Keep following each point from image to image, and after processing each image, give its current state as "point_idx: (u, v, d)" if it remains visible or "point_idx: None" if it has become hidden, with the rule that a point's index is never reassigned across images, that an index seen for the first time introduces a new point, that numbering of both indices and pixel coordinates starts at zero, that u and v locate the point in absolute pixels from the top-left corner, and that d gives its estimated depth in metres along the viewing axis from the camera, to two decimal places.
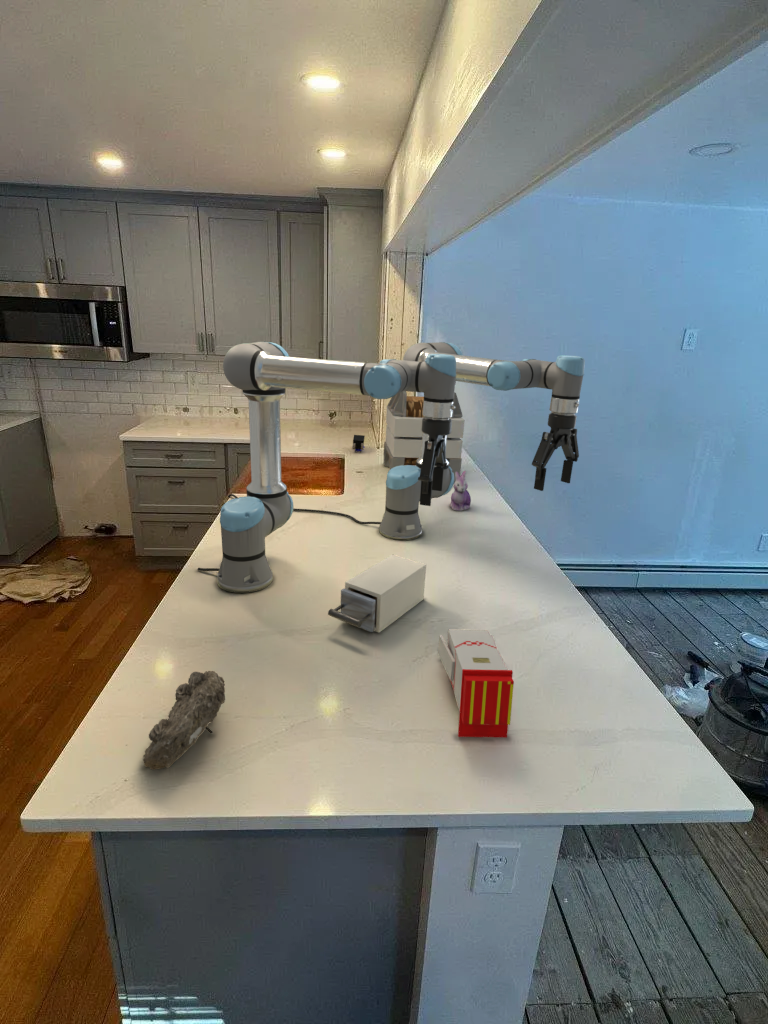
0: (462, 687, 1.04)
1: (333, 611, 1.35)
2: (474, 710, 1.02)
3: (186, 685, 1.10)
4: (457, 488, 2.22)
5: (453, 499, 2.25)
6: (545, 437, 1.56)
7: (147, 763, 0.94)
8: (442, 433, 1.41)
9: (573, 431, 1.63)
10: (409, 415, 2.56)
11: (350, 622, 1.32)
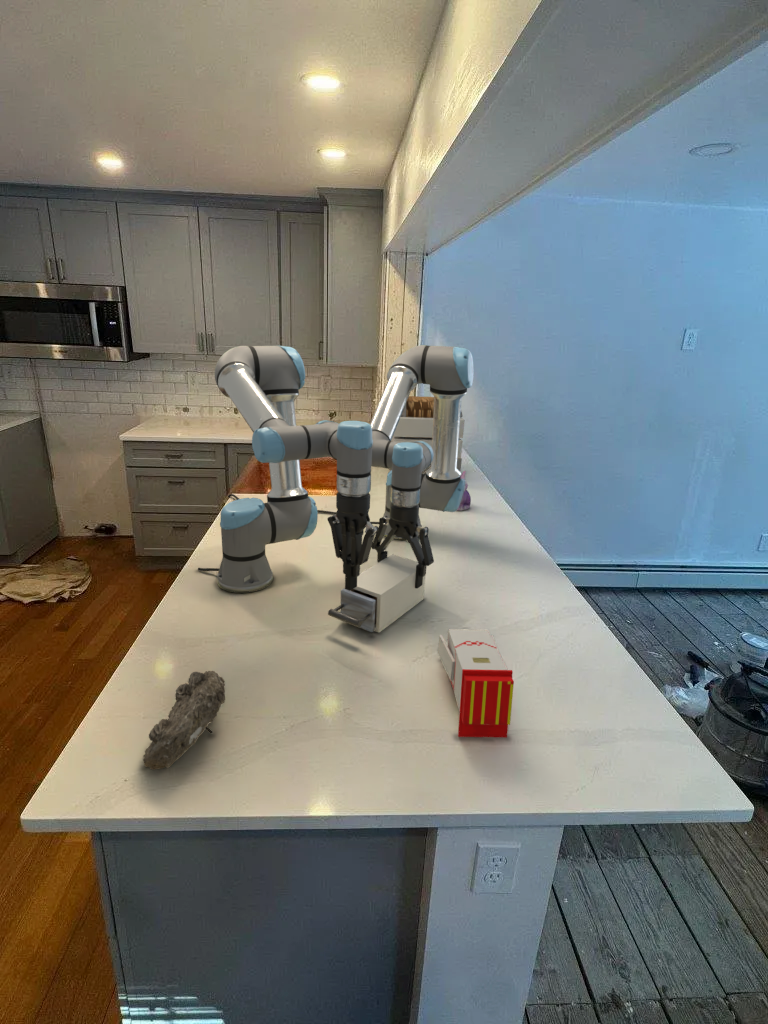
0: (462, 687, 1.04)
1: (333, 611, 1.35)
2: (474, 710, 1.02)
3: (186, 685, 1.10)
4: None
5: None
6: None
7: (147, 763, 0.94)
8: (336, 505, 1.26)
9: None
10: (409, 415, 2.56)
11: (350, 622, 1.32)
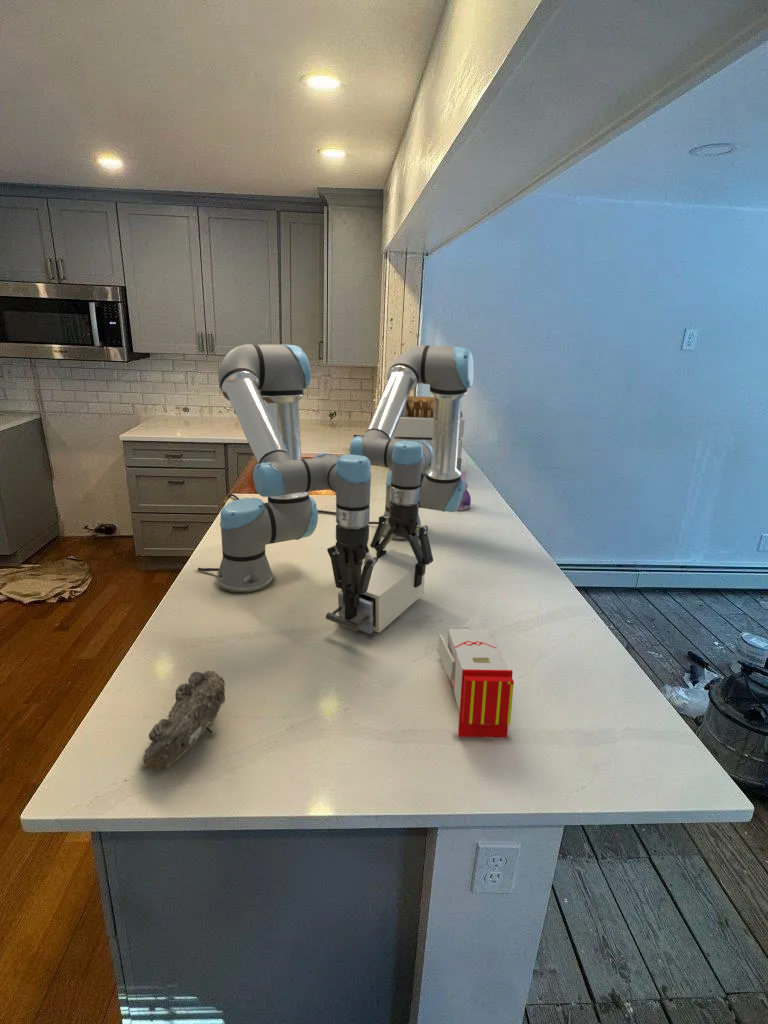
0: (462, 687, 1.04)
1: (331, 615, 1.35)
2: (474, 710, 1.02)
3: (186, 685, 1.10)
4: None
5: None
6: None
7: (147, 763, 0.94)
8: None
9: None
10: (409, 415, 2.56)
11: (348, 626, 1.32)
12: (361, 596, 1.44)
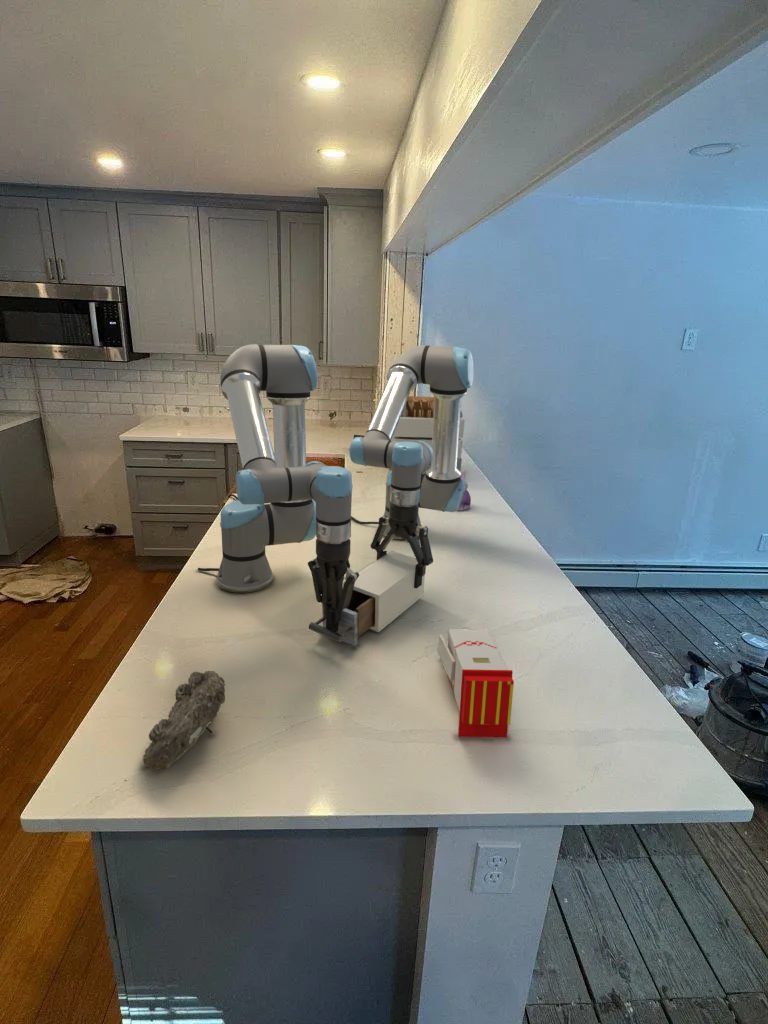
0: (462, 687, 1.04)
1: (314, 625, 1.30)
2: (474, 710, 1.02)
3: (186, 685, 1.10)
4: None
5: None
6: None
7: (147, 763, 0.94)
8: None
9: None
10: (409, 415, 2.56)
11: (331, 637, 1.27)
12: None
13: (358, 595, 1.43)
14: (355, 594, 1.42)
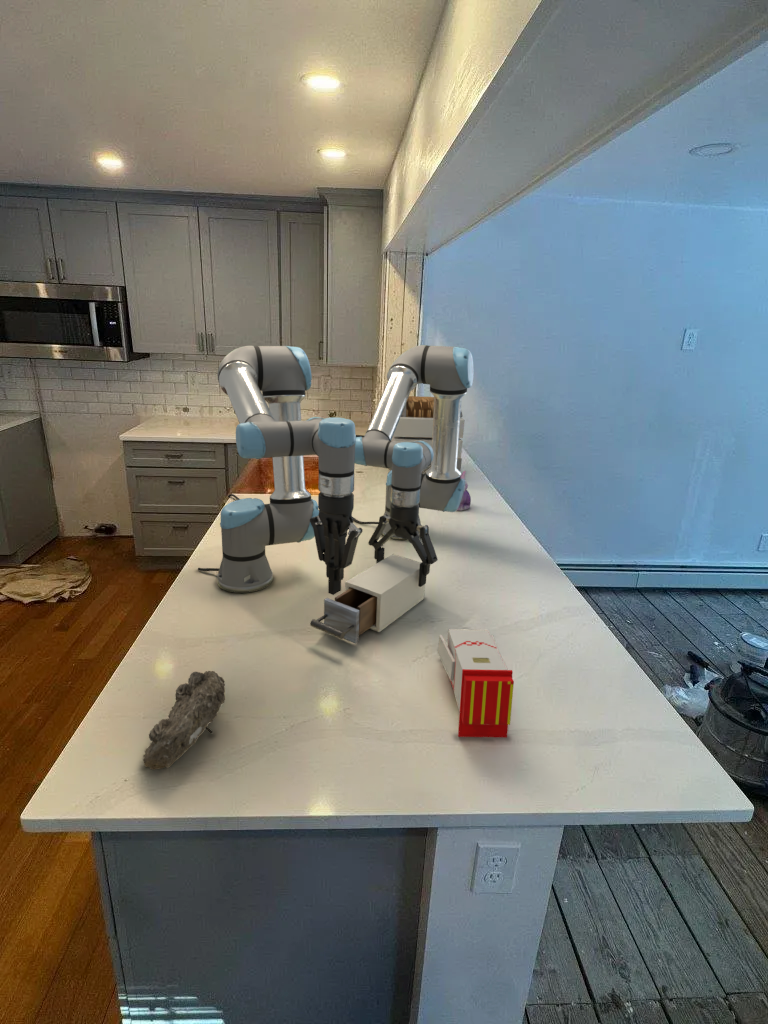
0: (462, 687, 1.04)
1: (315, 622, 1.30)
2: (474, 710, 1.02)
3: (186, 685, 1.10)
4: None
5: None
6: None
7: (147, 763, 0.94)
8: (318, 506, 1.21)
9: None
10: (409, 415, 2.56)
11: (332, 633, 1.27)
12: (348, 605, 1.40)
13: (359, 595, 1.43)
14: (357, 594, 1.42)
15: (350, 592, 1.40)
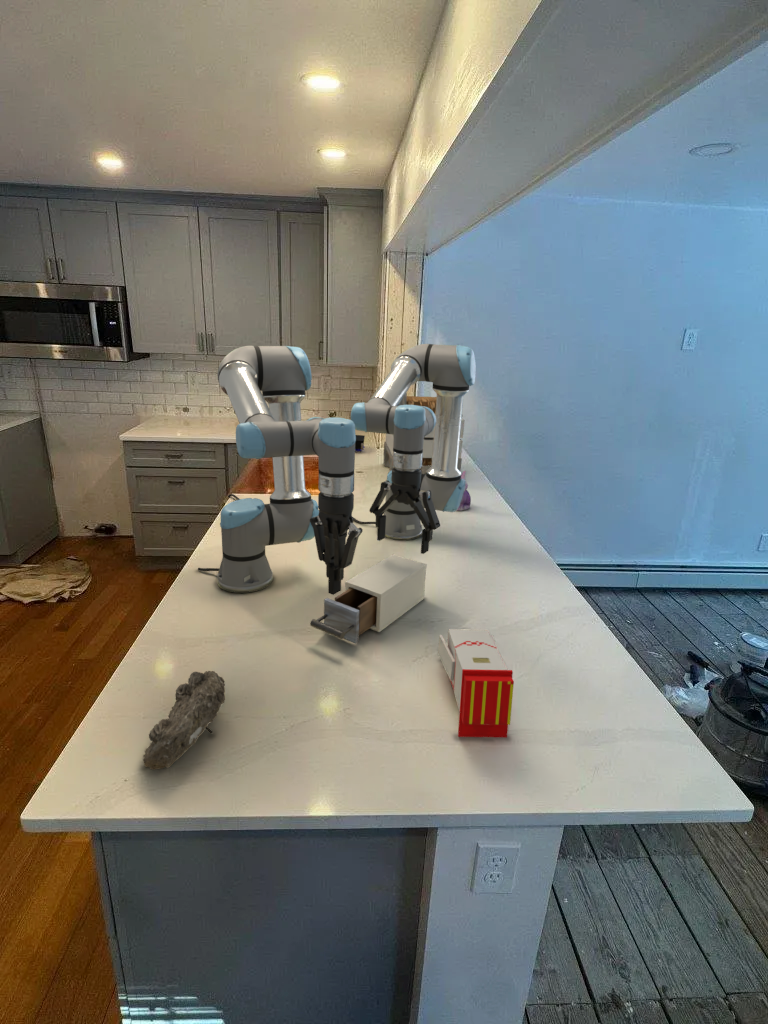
0: (462, 687, 1.04)
1: (315, 622, 1.30)
2: (474, 710, 1.02)
3: (186, 685, 1.10)
4: None
5: None
6: None
7: (147, 763, 0.94)
8: (318, 506, 1.21)
9: None
10: None
11: (332, 633, 1.27)
12: (348, 605, 1.40)
13: (359, 594, 1.43)
14: (357, 594, 1.42)
15: (350, 592, 1.40)
